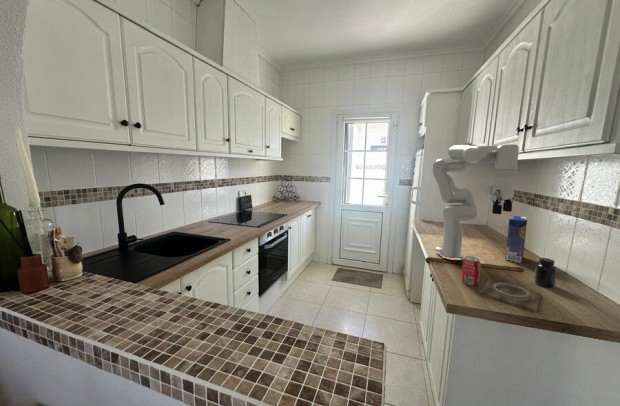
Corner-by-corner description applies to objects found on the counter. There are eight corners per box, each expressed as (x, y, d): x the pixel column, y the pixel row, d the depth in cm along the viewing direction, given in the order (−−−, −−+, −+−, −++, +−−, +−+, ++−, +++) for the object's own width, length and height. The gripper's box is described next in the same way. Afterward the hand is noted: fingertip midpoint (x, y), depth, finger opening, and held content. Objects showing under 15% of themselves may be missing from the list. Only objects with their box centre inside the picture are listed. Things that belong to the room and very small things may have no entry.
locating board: (479, 294, 106) (480, 288, 106) (489, 282, 117) (489, 276, 117) (536, 312, 93) (536, 305, 93) (540, 296, 104) (541, 290, 104)
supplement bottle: (548, 282, 116) (551, 257, 114) (558, 289, 109) (562, 263, 107) (530, 280, 118) (533, 256, 116) (539, 287, 111) (542, 262, 109)
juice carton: (522, 263, 137) (527, 220, 133) (505, 260, 142) (509, 219, 138) (522, 256, 146) (526, 216, 142) (506, 254, 151) (510, 215, 147)
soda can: (473, 279, 120) (475, 255, 118) (482, 286, 113) (484, 261, 111) (458, 279, 121) (460, 255, 119) (465, 286, 114) (467, 261, 112)
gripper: (504, 173, 115) (501, 209, 118) (485, 174, 107) (482, 213, 109) (524, 173, 109) (520, 211, 111) (506, 174, 100) (502, 216, 103)
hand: (502, 212), depth 110 cm, fingers open, 9 cm apart
